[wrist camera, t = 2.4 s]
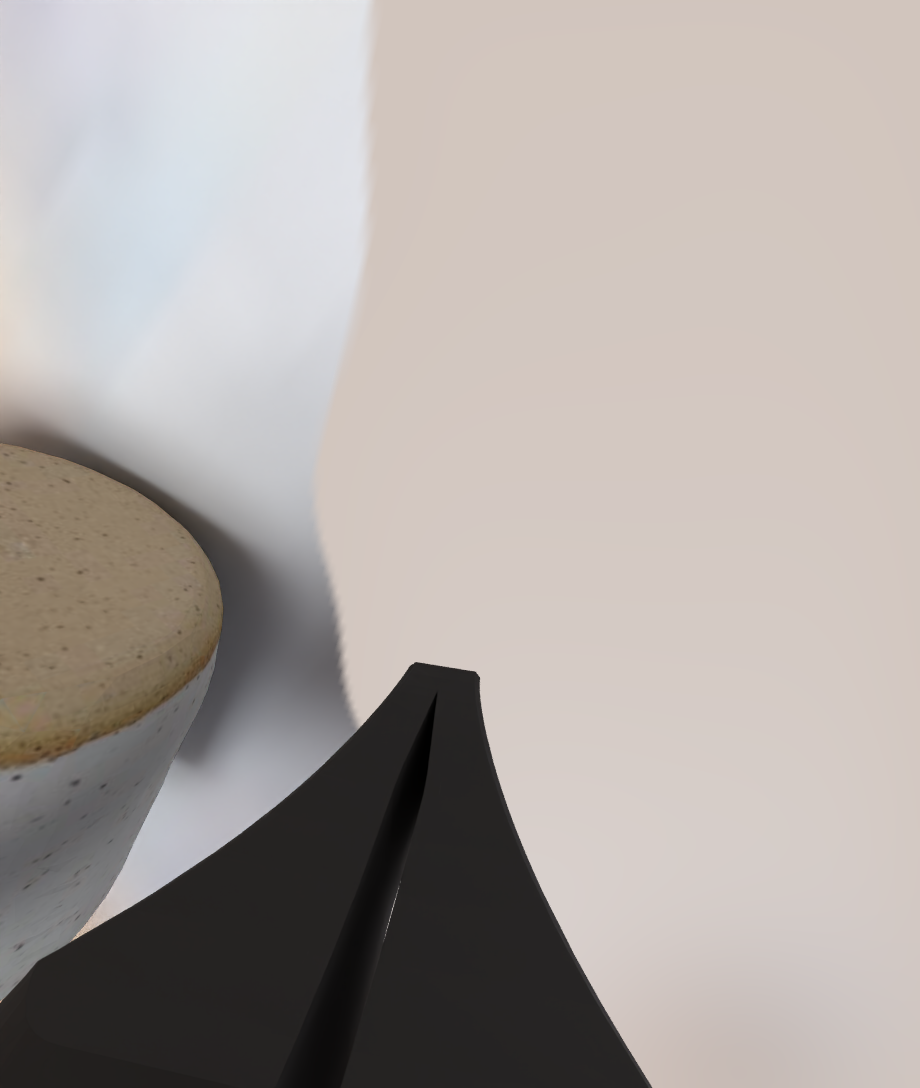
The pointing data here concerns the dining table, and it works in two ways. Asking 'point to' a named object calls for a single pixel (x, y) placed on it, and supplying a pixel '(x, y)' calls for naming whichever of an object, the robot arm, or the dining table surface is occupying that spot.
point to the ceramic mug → (87, 686)
